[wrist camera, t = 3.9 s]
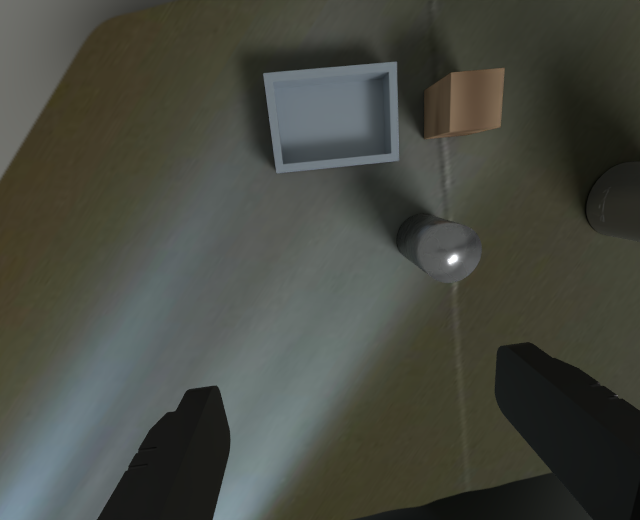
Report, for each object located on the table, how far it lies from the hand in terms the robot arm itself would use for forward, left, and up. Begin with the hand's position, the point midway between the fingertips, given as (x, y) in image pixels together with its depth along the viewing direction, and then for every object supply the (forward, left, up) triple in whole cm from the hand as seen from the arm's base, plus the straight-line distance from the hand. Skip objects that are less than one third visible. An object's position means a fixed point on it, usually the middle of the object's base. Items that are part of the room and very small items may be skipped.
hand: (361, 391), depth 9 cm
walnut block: (-16, -11, -29) cm, 35 cm away
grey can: (-13, +3, -29) cm, 32 cm away
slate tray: (-3, -11, -29) cm, 31 cm away
